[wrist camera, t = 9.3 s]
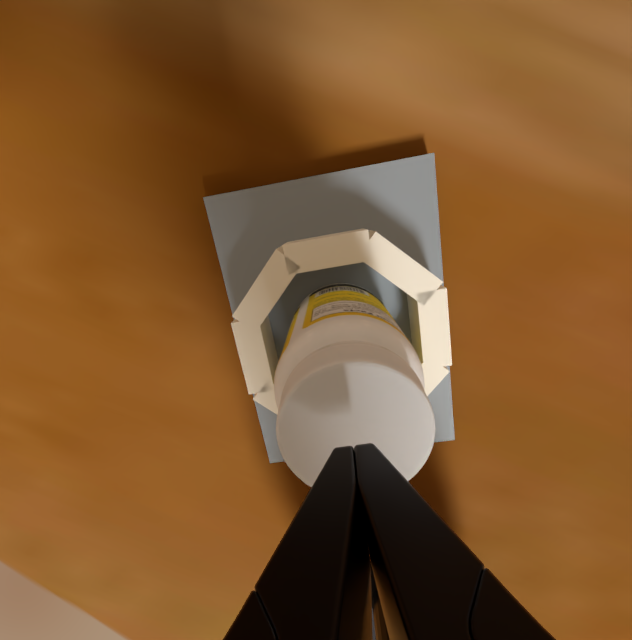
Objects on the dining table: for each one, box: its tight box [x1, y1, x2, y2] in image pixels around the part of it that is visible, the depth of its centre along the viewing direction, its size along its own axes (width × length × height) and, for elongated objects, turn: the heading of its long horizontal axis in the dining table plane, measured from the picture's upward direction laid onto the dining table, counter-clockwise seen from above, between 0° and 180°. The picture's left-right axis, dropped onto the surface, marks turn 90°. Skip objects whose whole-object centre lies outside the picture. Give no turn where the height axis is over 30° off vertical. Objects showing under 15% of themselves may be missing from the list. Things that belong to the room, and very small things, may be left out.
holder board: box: [203, 153, 455, 463], centre depth 16 cm, size 14×10×3 cm
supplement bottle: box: [274, 283, 435, 487], centre depth 12 cm, size 5×5×8 cm
